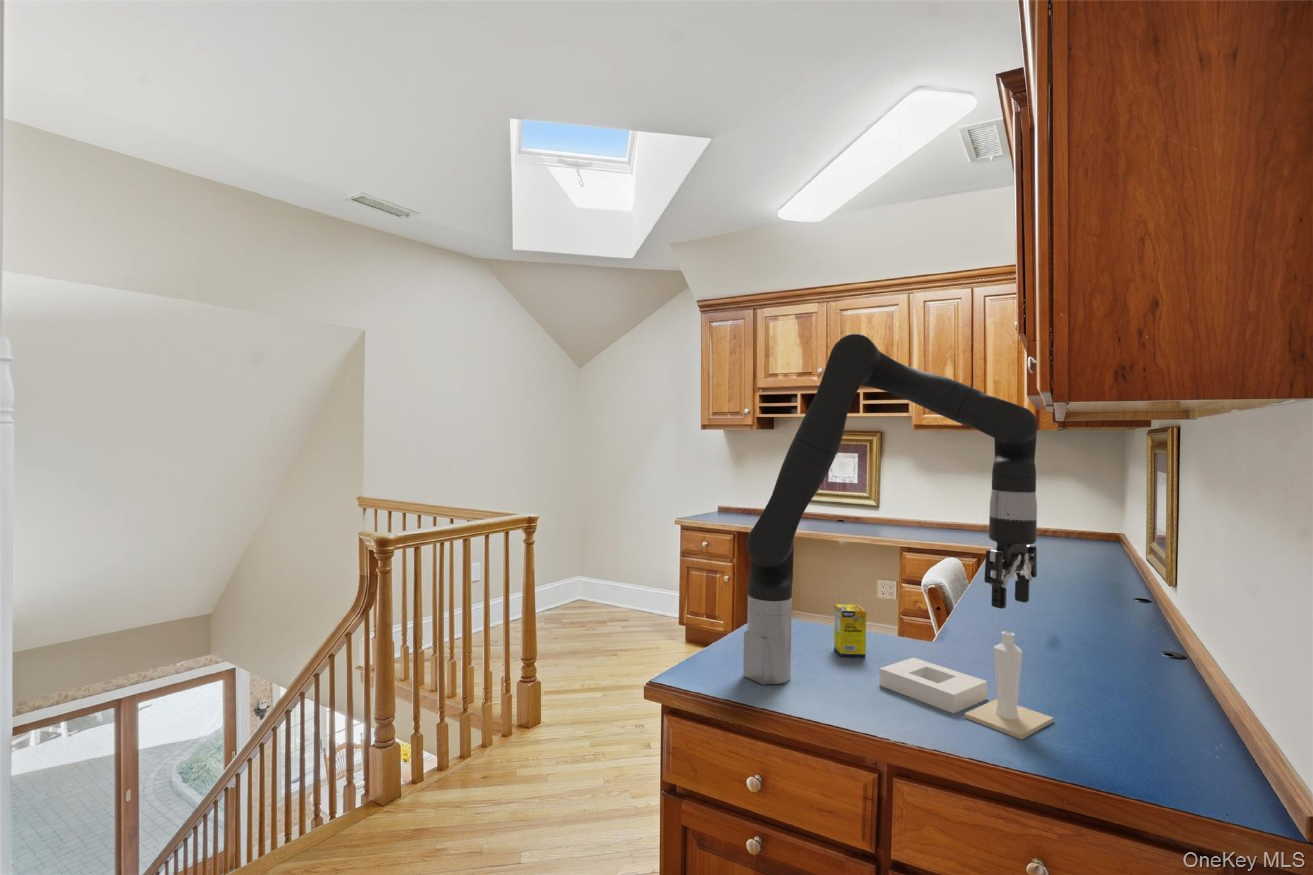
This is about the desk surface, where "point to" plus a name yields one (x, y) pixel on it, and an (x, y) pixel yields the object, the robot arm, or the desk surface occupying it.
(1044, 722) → the mat
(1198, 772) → the desk surface
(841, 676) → the desk surface
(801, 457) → the robot arm
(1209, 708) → the desk surface
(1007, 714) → the perfume bottle
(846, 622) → the supplement box
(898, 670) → the rectangular block
